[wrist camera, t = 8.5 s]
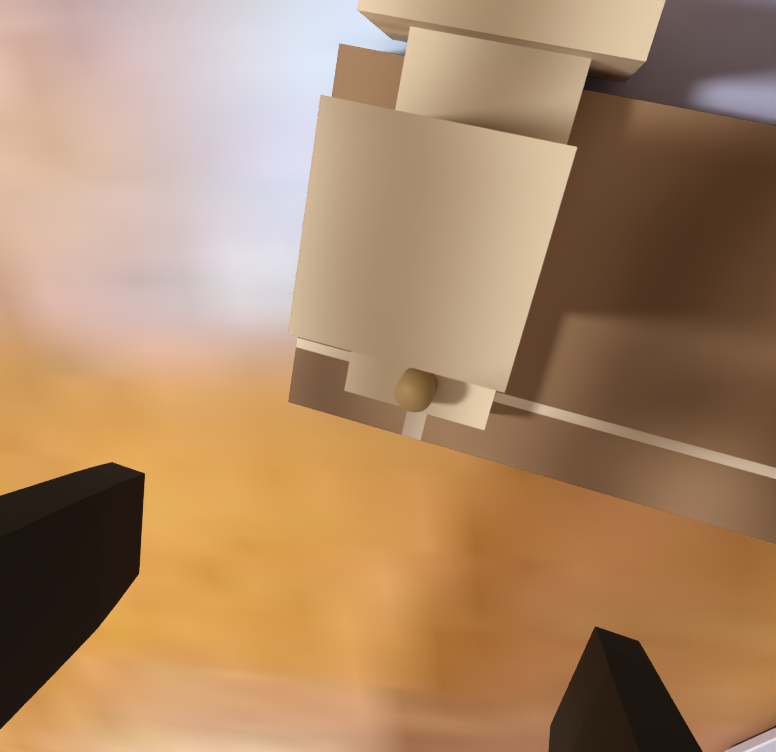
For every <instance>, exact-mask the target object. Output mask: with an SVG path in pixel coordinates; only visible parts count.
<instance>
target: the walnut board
mask: <svg viewBox="0 0 776 752" xmlns="http://www.w3.org/2000/svg"><path fill="white" fill-rule="evenodd" d="M404 58H405V56H403V55H398V54H392V53H387V52H382V51H376V50H371V49H366V48H360V47H355V46H350V45H345V44H339V50H338V57H337V64H336V71H335V78H334V85H333V92H332V97H334V98H339V99H344V100H348V101H353V102H358V103H363V104H368V105H373V106H378V107H383V108H388V109H393V110H395V108H396V102H397V97H398V91H399V86H400V80H401V74H402V69H403V63H404ZM567 145H570V146H575V147H577V150H576V153H575V157H574V160H573V163H572V167H571V170H570V174H569V177H568V180H567V184H566V187H565V190H564V194H563V197H562V201H561V204H560V207H559V211H558V214H557V218H556V221H555V224H554V228H553V231H552V234H551V238H550V241H549V245H548V248H547V251H546V255H545V258H544V262H543V265H542V268H541V272H540V275H539V278H538V282H537V285H536V289H535V292H534V295H533V299H532V302H531V306H530V309H529V312H528V316H527V319H526V322H525V326H524V329H523V333H522V336H521V339H520V343H519V346H518V350H517V353H516V356H515V360H514V363H513V366H512V370H511V373H510V377H509V380H508V383H507V387H506V390H505V393H503V392H499V391H496V392H495V395H494V399H493V402H492V405H491V409H490V412H489V416H488V419H487V423H486V426H485V430H481V429H478V428H474V427H471V426H467V425H464V424H460V423H457V422H453V421H450V420H446V419H443V418H439V417H435V416H432V415H428V414H425V413H421V412H409V411H406V410H404V409H403V408H401V407H400V406H397V405H393V404H390V403H386V402H382V401H379V400H375V399H372V398H368V397H365V396H361V395H358V394H354V393H351V392H347V391H344V389H345V384H346V378H347V373H348V367H349V362H350V356H351V351H349V350H345V349H341V348H337V347H334V346H330V345H326V344H323V343H319V342H315V341H312V340H308V339H304V338H301V337H297V344H296V352H295V359H294V366H293V373H292V380H291V387H290V394H289V401H288V402H290V403H294V404H297V405H301V406H304V407H308V408H311V409H315V410H318V411H321V412H325V413H328V414H332V415H335V416H339V417H342V418H346V419H349V420H352V421H356V422H359V423H363V424H366V425H370V426H373V427H376V428H380V429H383V430H387V431H390V432H394V433H397V434H401V435H404V436H407V437H411V438H414V439H417V440H421V441H425V442H428V443H431V444H435V445H438V446H442V447H445V448H449V449H452V450H456V451H459V452H462V453H466V454H469V455H473V456H476V457H480V458H483V459H487V460H490V461H493V462H497V463H500V464H504V465H507V466H511V467H514V468H517V469H521V470H524V471H528V472H531V473H535V474H538V475H542V476H545V477H548V478H552V479H555V480H559V481H562V482H566V483H569V484H573V485H576V486H579V487H583V488H586V489H590V490H593V491H597V492H600V493H603V494H607V495H610V496H614V497H617V498H621V499H624V500H628V501H631V502H634V503H638V504H641V505H645V506H648V507H652V508H655V509H658V510H662V511H665V512H669V513H672V514H676V515H679V516H683V517H686V518H689V519H693V520H696V521H700V522H703V523H707V524H710V525H714V526H717V527H720V528H724V529H727V530H731V531H734V532H738V533H741V534H744V535H748V536H751V537H755V538H758V539H762V540H765V541H769V542H772V543H775V544H776V126H775V125H769V124H764V123H759V122H753V121H748V120H743V119H738V118H732V117H727V116H722V115H716V114H711V113H706V112H700V111H695V110H690V109H684V108H679V107H674V106H668V105H663V104H658V103H653V102H647V101H642V100H637V99H631V98H626V97H621V96H615V95H610V94H605V93H599V92H594V91H589V90H584V89H583V90H582V94H581V97H580V101H579V104H578V108H577V111H576V115H575V118H574V121H573V125H572V128H571V132H570V135H569V139H568V142H567Z"/></svg>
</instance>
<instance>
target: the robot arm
mask: <svg viewBox="0 0 776 752" xmlns="http://www.w3.org/2000/svg"><path fill="white" fill-rule="evenodd" d="M144 481H145V473H142V472H139V471H136V470H133V469H130V468H127V467H124V466H121V465H118V464H116V463H113V462H111V463H107V464H103V465H99V466H95V467H91V468H88V469H84V470H81V471H78V472H74V473H71V474H68V475H65V476H61V477H58V478H55V479H52V480H49V481H45V482H42V483H39V484H36V485H33V486H30V487H27V488H24V489H20V490H17V491H14V492H11V493H8V494H4V495H1V496H0V729H1V728H2V727H3V726H4V725H5V724H6V723H7V722H8V721H9V720H10V719H11V718H12V717H13V716H14V715H15V714H16V713H17V712H18V711H19V710H20V709H21V707H22V706H23V705H24V704H25V703H26V702H27V701H28V700H29V699H30V698H31V697H32V696H33V695H34V694H35V693H36V692H37V691H38V690H39V689H40V688H41V687H42V686H43V685H44V684H45V683H46V682H47V681H48V680H49V679H50V678H51V677H52V676H53V675H54V674H55V673H56V671H57V670H58V669H59V668H60V667H61V666H62V665H63V664H64V663H65V662H66V661H67V660H68V659H69V658H70V657H71V656H72V655H73V654H74V653H75V652H76V651H77V650H78V648H79V647H80V646H81V645H82V644H83V643H84V642H85V641H86V640H87V639H88V638H89V637H90V636H91V635H92V634H93V633H94V632H95V630H96V629H97V628H98V627H99V626H100V625H101V623H102V622H103V621H104V619H105V618H106V617H107V616H108V614H109V613H110V612H111V611H112V609H113V608H114V607H115V605H116V604H117V603H118V602H119V600H120V599H121V597H122V596H123V595H124V593H125V592H126V591H127V589H128V588H129V587H130V585H131V584H132V582H133V581H134V580H135V578H136V577H137V576H138V574H139V568H140V550H141V533H142V516H143V498H144ZM549 752H702V750H701V748H700V746H699V745H698V743H697V741H696V740H695V738H694V736H693V735H692V733H691V731H690V729H689V728H688V726H687V724H686V722H685V721H684V719H683V717H682V716H681V714H680V712H679V710H678V709H677V707H676V705H675V703H674V702H673V700H672V698H671V696H670V695H669V693H668V691H667V689H666V688H665V686H664V684H663V682H662V681H661V679H660V677H659V675H658V673H657V672H656V670H655V668H654V666H653V665H652V663H651V661H650V659H649V658H648V656H647V654H646V653H645V651H644V649H643V647H642V646H641V644H640V642H639V641H637V640H634V639H631V638H628V637H625V636H622V635H619V634H616V633H613V632H610V631H607V630H604V629H601V628H598V627H596V626H595V628H594V630H593V632H592V634H591V637H590V639H589V641H588V643H587V645H586V648H585V650H584V652H583V654H582V657H581V659H580V661H579V663H578V665H577V668H576V670H575V672H574V674H573V677H572V679H571V681H570V683H569V685H568V688H567V690H566V692H565V694H564V697H563V699H562V701H561V703H560V705H559V708H558V710H557V712H556V714H555V716H554V719H553V721H552V723H551V726H550V739H549ZM725 752H776V728H774V729H771V730H769V731H767V732H765V733H763V734H761V735H758V736H756V737H754V738H752V739H750V740H747V741H745V742H743V743H741V744H739V745H737V746H734V747H732V748H730V749H728V750H726V751H725Z"/></svg>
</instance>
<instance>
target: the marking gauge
mask: <svg viewBox="0 0 776 752" xmlns="http://www.w3.org/2000/svg"><path fill="white" fill-rule="evenodd" d="M665 1H666V0H359V3H358V9H357V10H358V11H359V12H360V13H361V14H363V15H364V16H365V17H366V18H367V19H369V20H370V21H371V22H372V23H373V24H374V25H376V26H377V27H378V28H379V29H380V30H381V31H383V32H384V33H385V34H386V35H387V36H389V37H390V38H391V39H392V40H398V41H403V42H407V47H406V52H405V58H404V63H403V69H402V74H401V80H400V86H399V91H398V97H397V102H396V108H395V110H393V109H388V108H383V107H378V106H373V105H368V104H363V103H358V102H353V101H348V100H344V99H339V98H334V97H329V96H324V95H321V97H320V104H319V111H318V119H317V126H316V133H315V141H314V148H313V155H312V163H311V170H310V178H309V185H308V192H307V200H306V207H305V214H304V222H303V229H302V236H301V244H300V251H299V258H298V266H297V273H296V281H295V288H294V295H293V303H292V310H291V317H290V325H289V332H288V334H290V335H293V336H297V337H301V338H304V339H308V340H312V341H315V342H319V343H323V344H326V345H330V346H334V347H337V348H341V349H345V350H349V351H351V356H350V362H349V367H348V373H347V378H346V384H345V389H344V391H347V392H351V393H354V394H358V395H361V396H365V397H368V398H372V399H375V400H379V401H382V402H386V403H390V404H393V405H397V406H400V407H401V408H403V409H404V410H406V411H409V412H421V413H425V414H428V415H432V416H435V417H439V418H443V419H446V420H450V421H453V422H457V423H460V424H464V425H467V426H471V427H474V428H478V429H481V430H485V426H486V423H487V419H488V416H489V412H490V409H491V405H492V402H493V399H494V395H495V392H496V391H499V392H503V393H505V390H506V387H507V383H508V380H509V377H510V373H511V370H512V366H513V363H514V360H515V356H516V353H517V350H518V346H519V343H520V339H521V336H522V333H523V329H524V326H525V322H526V319H527V316H528V312H529V309H530V306H531V302H532V299H533V295H534V292H535V289H536V285H537V282H538V278H539V275H540V272H541V268H542V265H543V262H544V258H545V255H546V251H547V248H548V245H549V241H550V238H551V234H552V231H553V228H554V224H555V221H556V218H557V214H558V211H559V207H560V204H561V201H562V197H563V194H564V190H565V187H566V184H567V180H568V177H569V174H570V170H571V167H572V163H573V160H574V157H575V153H576V150H577V147H575V146H570V145H567V142H568V139H569V135H570V132H571V128H572V125H573V121H574V118H575V115H576V111H577V108H578V104H579V101H580V97H581V94H582V90H583V87H584V83H585V80H586V76H593V77H598V78H604V79H609V80H614V81H620V82H625V81H626V80H627V79H629V78H630V77H631V76H632V75H633V74H634V73H635V72H636V71H637V70H638V69H639V68H640V67H641V66H642V65H643V64H644V63H645V62H646V60H647V57H648V54H649V51H650V47H651V44H652V41H653V38H654V35H655V32H656V29H657V26H658V22H659V19H660V16H661V13H662V10H663V7H664V4H665Z"/></svg>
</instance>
